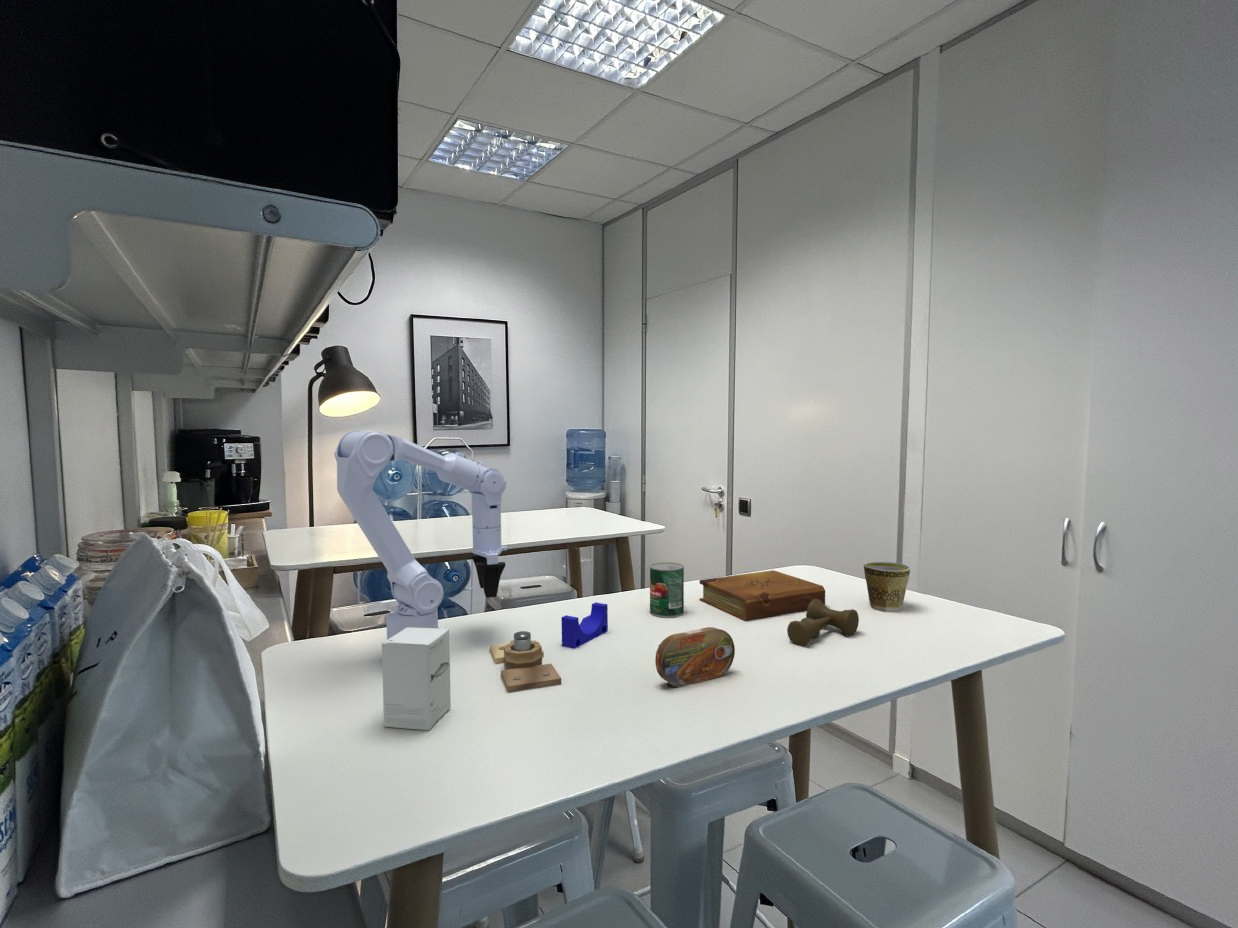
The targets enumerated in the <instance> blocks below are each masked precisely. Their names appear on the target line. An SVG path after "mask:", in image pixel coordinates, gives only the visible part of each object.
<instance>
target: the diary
mask: <svg viewBox="0 0 1238 928" xmlns="http://www.w3.org/2000/svg"><path fill="white" fill-rule="evenodd" d="M699 585H702V587H703V588H702V593H703V595H702V596H703V597H701V598H699V601H700V602H702V603H704V604H706V605H708V606H710V605H711V607H713V608H715V609H717V610H720V611H722V612H724V613H726V614H728V615H730V616H732V617H735V618H737V619H739V620H741V621H743V622H747V621H754V620H760V619H766V618H771V617H778V616H783V615H784V616H785V615H789V614H795V613H801V612H807V608H808V605H809V604H810V602H811V601H812V600H814V599H819V600H820V601H821V602H822V603H823V604H824V605H825V606H826V589H825V588H824V587H825V586H823V585H821V584H818V583H815V582H812V581H808V580H806V579H802V578H800V577H796V576H794V575H789V574H786V573H784V572H780V571H777V570H774V569H772V570H765V571H757V572H756V571H755V572H749V573H743V574H735V575H727V576H721V577H712V578H706V579H705V578H704V579H699Z"/></svg>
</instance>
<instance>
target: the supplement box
mask: <svg viewBox="0 0 1238 928" xmlns="http://www.w3.org/2000/svg"><path fill="white" fill-rule="evenodd" d="M450 652H451V651H450V629H449V628H438V629H437V628H410V627H407V628H405V629H403V630H402V631H400V632H399V633H397V634H396V635H394V636H393V637H391V638H389V639H388V640H387V639H386V640H384V641H383V642H382V643H381V654H382V655H381V656H382V657H381V659H382V660H381V662H382V664H381V665H382V694H383V695H382V698H383V701H382V702H383V703H382V704H383V705H382V706H383V727H385V728H397V729H407V730H419V731H430V730H431V729H432V727H434V725H435V724H436V723H437V722H438V721H439V720H440V719H441V718H442V717H443V716H444V715H445V714H446V713H447V712H448V711H449V710H450V709H451V706H452V702H451V700H452V699H451V659H450V658H451V657H450V656H451V654H450Z"/></svg>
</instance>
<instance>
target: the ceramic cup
mask: <svg viewBox="0 0 1238 928" xmlns="http://www.w3.org/2000/svg"><path fill="white" fill-rule="evenodd" d="M863 570H864V577H865V582H866V589H867V593H868V594H867V595H868V601H869V606H870V607H871V608H872V609H873V610H874V611H875V610H876V611H881V612H885V613H897V612H899V611H901V610H903V606H904V601H905V600H904V599H905V596H906V593H907V586H908V583H909V579H910V573H911V567H910V566H908V565H906V564H903V563H899V562H893V561H892V562H891V561H869V562H865V563H864V564H863Z"/></svg>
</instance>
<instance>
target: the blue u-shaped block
mask: <svg viewBox="0 0 1238 928" xmlns="http://www.w3.org/2000/svg"><path fill="white" fill-rule="evenodd" d="M608 613H609V611H608V603H602V602H592V603H591V610H590V614H589V615H588V616H586V617H583V618H582V620H581V621H580V622H579V617H577V616H574V615H573V616H572V615H563V616H561V647H564V648H568V649H573V650H575V649H577V648H579V647H580V646H583V645H585V644H586V643H589V642H590V641H593V640H594V639H596V638H599V636H602V635H604V634H605V633H607V632H608V631H609V629H608V628H609V626H608V622H609V621H608V620H609V619H608V618H609V616H608V615H609V614H608Z"/></svg>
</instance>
